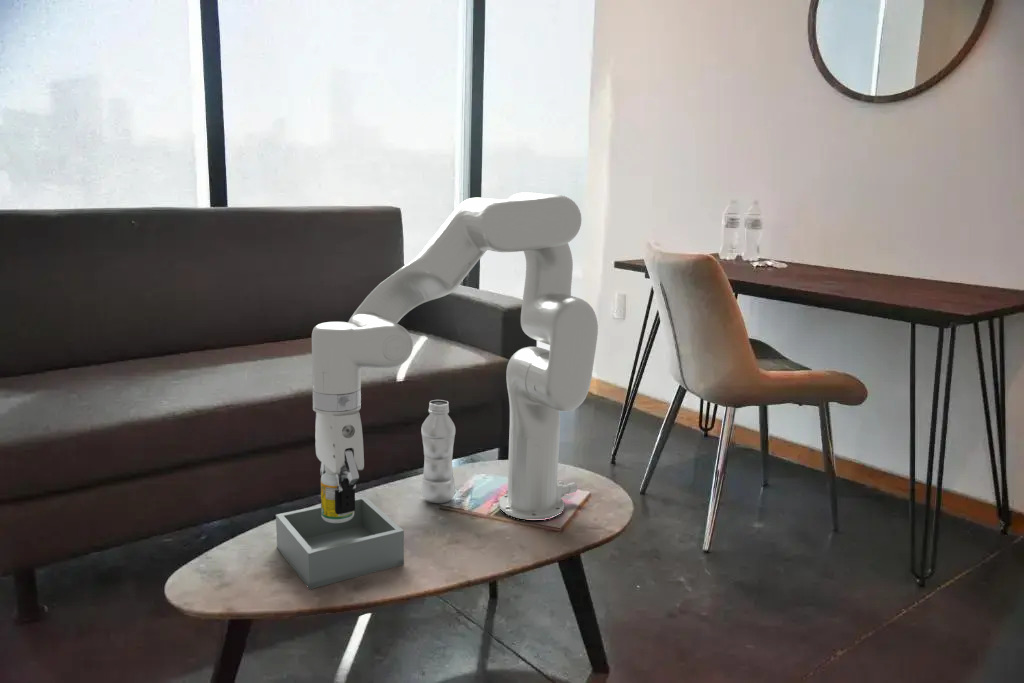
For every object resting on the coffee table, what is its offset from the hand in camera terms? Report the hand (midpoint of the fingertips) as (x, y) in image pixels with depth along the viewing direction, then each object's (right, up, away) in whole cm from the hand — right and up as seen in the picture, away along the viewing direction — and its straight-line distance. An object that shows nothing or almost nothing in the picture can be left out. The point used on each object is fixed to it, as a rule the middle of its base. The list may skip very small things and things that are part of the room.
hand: (337, 504), depth 133 cm
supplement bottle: (0, -2, 0) cm, 2 cm away
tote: (0, -9, +2) cm, 9 cm away
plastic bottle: (+14, -5, +25) cm, 29 cm away
